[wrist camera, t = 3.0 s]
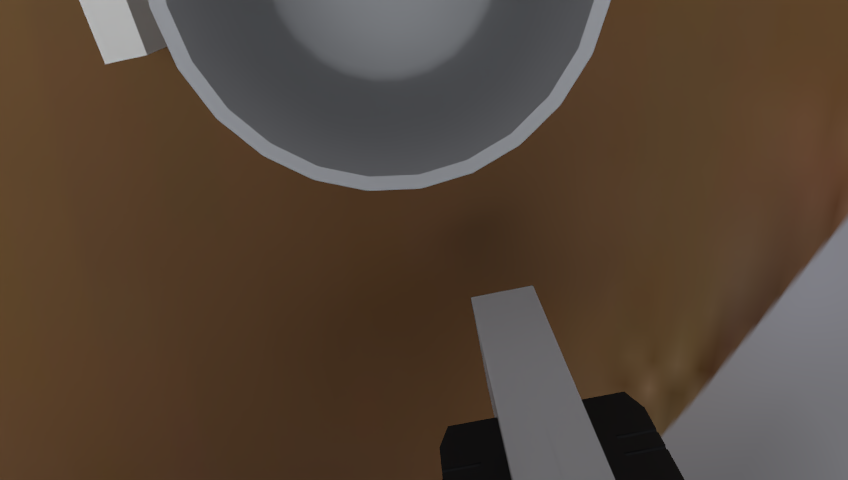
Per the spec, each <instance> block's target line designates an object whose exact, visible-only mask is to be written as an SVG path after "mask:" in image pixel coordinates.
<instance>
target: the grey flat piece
mask: <svg viewBox="0 0 848 480" xmlns="http://www.w3.org/2000/svg"><path fill="white" fill-rule="evenodd" d="M79 1H80V4H81V6H82V9H83V11H84V13H85V16H86V18H87V21H88V23H89V26H90V28H91V31H92V33H93V35H94V38H95V40H96V43H97V45H98V48H99V50H100V52H101V55H102V57H103V60H104V62H105V64H108V63H113V62H117V61H122V60H127V59H131V58H136V57H140V56H145V55H148V54H151V53H153V52H155V51H158V50H160V49H162V48H165V47H167V44H166V42H165V40H164V38H163V36H162V33H161V31H160V29H159V27H158V25H157V22H156V20H155V18H154V16H153V14H152V12H151V9H150V7H149V2H148V0H79Z"/></svg>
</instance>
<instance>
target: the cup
mask: <svg viewBox="0 0 848 480" xmlns="http://www.w3.org/2000/svg"><path fill="white" fill-rule="evenodd" d="M610 1H611V0H148V2H149V7H150V9H151V12H152V14H153V16H154V18H155V20H156V22H157V25H158V27H159V29H160V31H161V33H162V36H163V38H164V40H165V42H166V44H167V46H168V49H169V51H170V53H171V55H172V57H173V59H174V62H175V64H176V66H177V68H178V70H179V71H180V72H181V73H182V75H183V76H184V77H185V79H186V80H187V81H188V82H189V84H190V85H191V86H192V88H193V89H194V90H195V92H196V93H197V94H198V95H199V97H200V98H201V99H202V101H203V102H204V103H205V104H206V106H207V107H208V108H209V110H210V111H211V112H212V113H213V115H214V116H215V117H216V119H218V120H219V121H220V122H221V123H223V124H224V125H225V126H226V127H228V128H229V129H230V130H231V131H233V132H234V133H235V134H236V135H238V136H239V137H240V138H241V139H243V140H244V141H245V142H246V143H248V144H249V145H250V146H251V147H253V148H254V149H255V150H256V151H258V152H259V153H260V154H261V155H263V156H264V157H267V158H269V159H271V160H273V161H275V162H277V163H279V164H281V165H283V166H285V167H288V168H290V169H292V170H294V171H296V172H298V173H300V174H302V175H304V176H307V177H309V178H311V179H313V180H316V181H321V182H326V183H331V184H336V185H341V186H346V187H351V188H356V189H361V190H366V191H376V190H399V189H421V188H425V187H428V186H431V185H435V184H438V183H441V182H444V181H448V180H451V179H454V178H458V177H461V176H464V175H468V174H471V173H473V172H475V171H477V170H479V169H480V168H482V167H484V166H485V165H487V164H489V163H490V162H492V161H494V160H495V159H497V158H499V157H501V156H502V155H504V154H506V153H507V152H509V151H511V150H512V149H514V148H516V147H517V146H519V145H520V144H521V143H522V142H523V141H525V140H526V139H527V138H528V137H529V136H530V135H531V134H532V133H533V132H534V131H535V130H536V129H537V128H538V127H539V126H540V125H541V124H542V123H543V122H544V121H545V120H546V119H547V118H548V117H549V116H550V115H551V114H552V113H553V112H554V111H555V110H556V109H557V108H558V107H559V106H560V105H561V103H562V102H563V100H564V99H565V97H566V95H567V94H568V92H569V91H570V89H571V88H572V86H573V84H574V83H575V81H576V80H577V78H578V76H579V75H580V73H581V72H582V70H583V68H584V67H585V65H586V64H587V62H588V60H589V59H590V57H591V56H592V54H593V51H594V48H595V45H596V42H597V39H598V36H599V33H600V31H601V28H602V25H603V22H604V19H605V16H606V13H607V10H608V7H609V4H610Z"/></svg>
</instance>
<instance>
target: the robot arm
mask: <svg viewBox="0 0 848 480" xmlns="http://www.w3.org/2000/svg"><path fill="white" fill-rule="evenodd" d="M471 301H472V306H473V311H474V317H475V322H476V327H477V332H478V338H479V343H480V348H481V353H482V359H483V364H484V369H485V374H486V379H487V385H488V390H489V394H490V399H491V403H492V408H493V412H494V416H495V418H491V419H485V420H480V421H475V422H469V423H464V424H459V425H453V426H448V428H447V430H446V433H445V435H444V438H443V440H442V443H441V445H440V455H441V465H442V473H443V474H442V475H443V480H684V478H683V476H682V475H681V473H680V471H679V469H678V467H677V466H676V464H675V462H674V460H673V458H672V457H671V455H670V453H669V451H668V450H666V447H665V444H664V442H663V440H662V438H661V437H660V435H659V433H658V432H657V431H656V428H655V426H654V424H653V422H652V420H651V419H650V417H649V415H648V413H647V411H646V410H645V408H644V407H643V406H642V405H640V404H639V403H638V402H637V401H635V400H634V399H633V398H631V397H630V396H629V395H628V394H626V393H625V392H620V393H615V394H610V395H604V396H599V397H594V398H588V399H583V400H581V398H580V395H579V393H578V391H577V388H576V386H575V383H574V381H573V379H572V376H571V374H570V372H569V369H568V367H567V365H566V362H565V360H564V358H563V355H562V353H561V350H560V348H559V346H558V343H557V341H556V339H555V336H554V334H553V332H552V329H551V327H550V325H549V322H548V320H547V317H546V315H545V313H544V310H543V308H542V306H541V303H540V301H539V299H538V296H537V294H536V292H535V289H534V287H533V285H532V286H527V287H522V288H517V289H512V290H507V291H502V292H497V293H491V294H486V295H481V296H476V297H471Z"/></svg>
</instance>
